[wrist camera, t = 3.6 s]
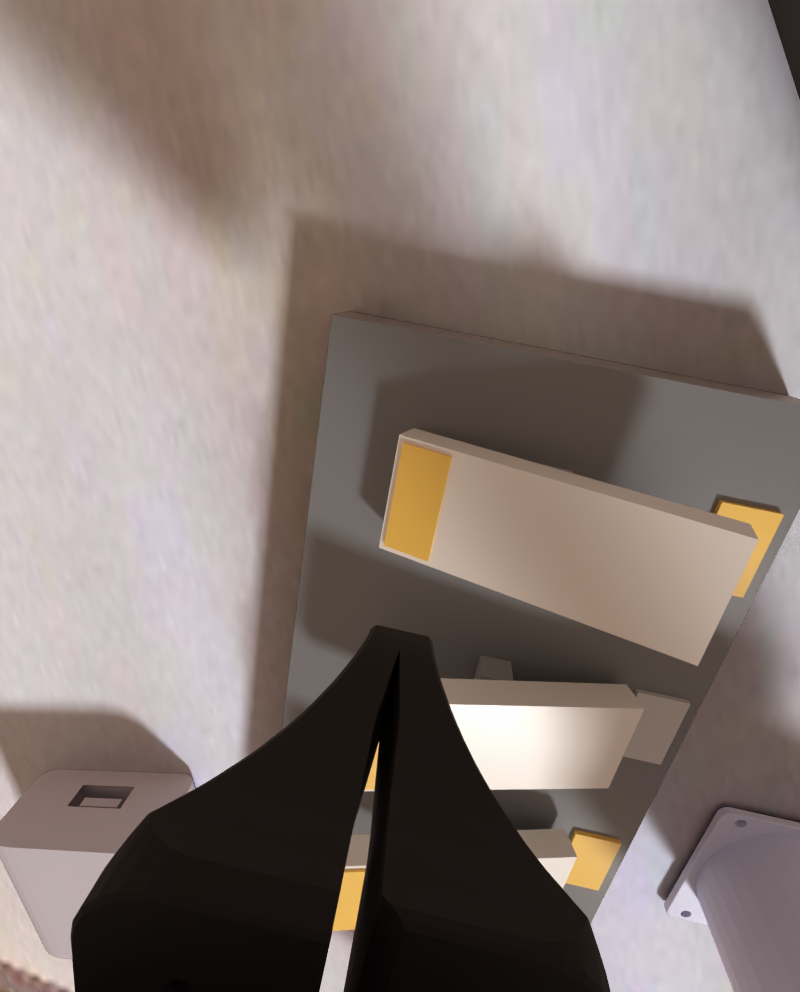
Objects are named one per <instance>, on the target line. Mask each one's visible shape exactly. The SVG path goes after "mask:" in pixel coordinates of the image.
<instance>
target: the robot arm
mask: <svg viewBox="0 0 800 992" xmlns="http://www.w3.org/2000/svg"><path fill="white" fill-rule="evenodd" d="M378 743H379V748H378V758H377V769H376V779H375V790H374V801H373V811H372V822H371V833H370V842H369V850H368V858H367V865H366V870H365V876H364V881H363V887H362V893H361V898H360V904H359V909H358V915H357V921H356V926H355V932H354V937H353V943H352V948H351V954H350V959H349V965H348V970H347V976H346V981H345V987H344V992H610V988H609V984H608V980H607V975H606V972H605V969H604V965H603V962H602V959H601V956H600V953H599V949H598V946H597V943H596V940H595V937H594V934H593V931H592V928H591V925H590V922H589V919H588V918H587V916H586V915H585V914H584V913H583V911H582V910H581V909H580V908H579V907H578V906H577V905H576V903H575V902H574V901H573V900H572V899H571V898H570V897H569V895H568V894H567V893H566V892H565V891H564V890H563V888H562V887H561V886H560V885H559V884H558V883H557V882H556V880H555V879H554V878H553V877H552V876H551V875H550V873H549V872H548V871H547V870H546V869H545V868H544V866H543V865H542V864H541V863H540V861H539V860H538V859H537V857H536V856H535V855H534V853H533V852H532V851H531V849H530V848H529V847H528V846H527V844H526V843H525V841H524V840H523V838H522V837H521V835H520V834H519V833H518V831H517V830H516V828H515V827H514V825H513V824H512V822H511V821H510V819H509V818H508V816H507V815H506V813H505V812H504V810H503V809H502V807H501V806H500V804H499V803H498V801H497V800H496V798H495V796H494V795H493V793H492V791H491V790H490V788H489V786H488V784H487V783H486V781H485V779H484V778H483V776H482V774H481V772H480V770H479V768H478V767H477V765H476V763H475V761H474V759H473V757H472V755H471V753H470V751H469V749H468V747H467V745H466V743H465V741H464V738H463V736H462V734H461V732H460V729H459V727H458V725H457V722H456V720H455V718H454V715H453V713H452V710H451V707H450V705H449V702H448V699H447V696H446V693H445V691H444V688H443V685H442V682H441V678H440V675H439V671H438V668H437V664H436V660H435V656H434V651H433V644H432V641H431V639H430V638H429V636H425V635H420V634H416V633H411V632H407V631H402V630H398V629H393V628H389V627H384V626H380V625H376V626H374V627H372V628H371V630H370V632H369V634H368V636H367V637H366V639H365V641H364V642H363V644H362V645H361V647H360V648H359V650H358V651H357V653H356V654H355V655H354V657H353V658H352V659H351V661H350V662H349V663H348V664H347V665H346V667H345V668H344V669H343V670H342V672H341V673H340V674H339V675H338V676H337V678H336V679H335V680H334V681H333V682H332V683H331V684H330V685H329V686H328V687H327V688H326V689H325V690H324V691H323V693H322V694H321V695H320V696H319V697H318V698H317V699H316V700H315V701H314V702H313V703H312V704H311V705H310V706H309V707H308V708H307V709H306V710H305V711H303V712H302V713H301V714H300V715H299V716H298V717H297V718H296V719H295V720H293V721H292V722H291V723H290V724H289V725H288V726H286V727H285V728H284V729H283V730H282V731H280V732H279V733H278V734H276V735H275V736H274V737H273V738H271V739H270V740H269V741H267V742H266V743H265V744H264V745H262V746H261V747H260V748H258V749H257V750H256V751H254V752H253V753H251V754H250V755H248V756H247V757H246V758H244V759H243V760H241V761H239V762H238V763H236V764H235V765H233V766H232V767H230V768H228V769H227V770H225V771H224V772H222V773H221V774H219V775H218V776H216V777H214V778H213V779H211V780H210V781H208V782H206V783H205V784H203V785H201V786H199V787H198V788H196V789H194V790H192V791H190V792H188V793H186V794H184V795H183V796H181V797H179V798H177V799H175V800H173V801H171V802H169V803H167V804H166V805H164V806H162V807H160V808H158V809H156V810H154V811H152V812H150V813H148V815H147V816H146V817H145V818H144V819H143V820H142V821H141V822H140V824H139V825H138V826H137V827H136V828H135V829H134V831H133V832H132V833H131V834H130V835H129V837H128V838H127V839H126V840H125V842H124V843H123V844H122V846H121V847H120V848H119V849H118V851H117V852H116V853H115V854H114V856H113V857H112V858H111V860H110V861H109V863H108V864H107V865H106V867H105V868H104V870H103V871H102V873H101V875H100V876H99V878H98V879H97V881H96V883H95V884H94V886H93V888H92V889H91V891H90V893H89V894H88V896H87V898H86V899H85V901H84V902H83V904H82V906H81V907H80V909H79V911H78V912H77V914H76V916H75V917H74V919H73V920H72V928H71V936H70V937H71V949H72V960H73V972H74V984H75V992H319V990H320V985H321V981H322V976H323V971H324V967H325V962H326V958H327V953H328V949H329V944H330V939H331V934H332V930H333V925H334V920H335V915H336V910H337V905H338V900H339V896H340V891H341V886H342V881H343V876H344V871H345V866H346V861H347V856H348V851H349V846H350V841H351V836H352V831H353V828H354V824H355V821H356V817H357V814H358V811H359V807H360V804H361V801H362V797H363V794H364V791H365V787H366V784H367V780H368V777H369V774H370V770H371V767H372V764H373V760H374V757H375V753H376V750H377V747H378ZM664 906H665V909H666V912H667V914H668V915H669V916H672V917H675V918H679V919H684V920H688V921H692V922H696V923H701V924H705V925H708V926H709V929H710V931H711V934H712V936H713V939H714V941H715V944H716V947H717V949H718V952H719V954H720V957H721V960H722V962H723V965H724V967H725V970H726V972H727V975H728V978H729V980H730V983H731V985H732V988H733V991H734V992H800V823H799V822H794V821H790V820H785V819H781V818H776V817H772V816H767V815H763V814H758V813H754V812H749V811H745V810H740V809H736V808H731V807H724V808H721V809H719V810H718V811H717V813H716V814H715V816H714V818H713V820H712V821H711V823H710V825H709V826H708V828H707V830H706V832H705V833H704V835H703V837H702V839H701V840H700V842H699V844H698V846H697V847H696V849H695V851H694V853H693V854H692V856H691V858H690V859H689V861H688V863H687V865H686V866H685V868H684V870H683V872H682V873H681V875H680V877H679V879H678V880H677V882H676V884H675V886H674V887H673V889H672V891H671V892H670V894H669V896H668V898H667V899H666V901H665V903H664Z"/></svg>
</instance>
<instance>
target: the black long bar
mask: <svg viewBox="0 0 800 992" xmlns="http://www.w3.org/2000/svg"><path fill="white" fill-rule="evenodd" d="M768 2H769V5H770V8H771V11H772V14H773V17H774V20H775V24H776V27H777V30H778V33H779V36H780V39H781V42H782V45H783V49H784V52H785V55H786V58H787V61H788V64H789V67H790V70H791V74H792V77H793V80H794V83H795V86H796V89H797V92H798V96H799V99H800V0H768Z"/></svg>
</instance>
